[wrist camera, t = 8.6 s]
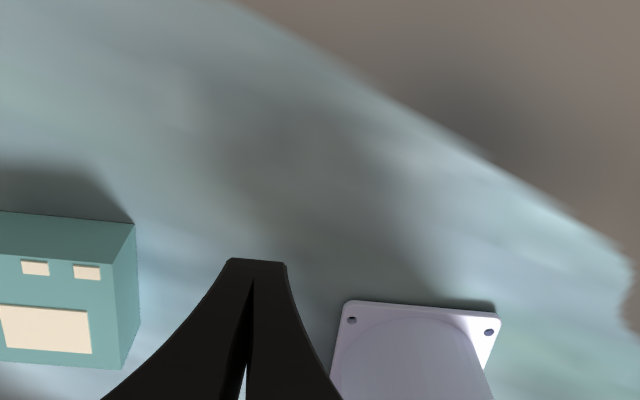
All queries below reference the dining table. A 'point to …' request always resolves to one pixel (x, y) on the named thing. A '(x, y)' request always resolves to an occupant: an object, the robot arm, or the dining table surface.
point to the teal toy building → (67, 291)
